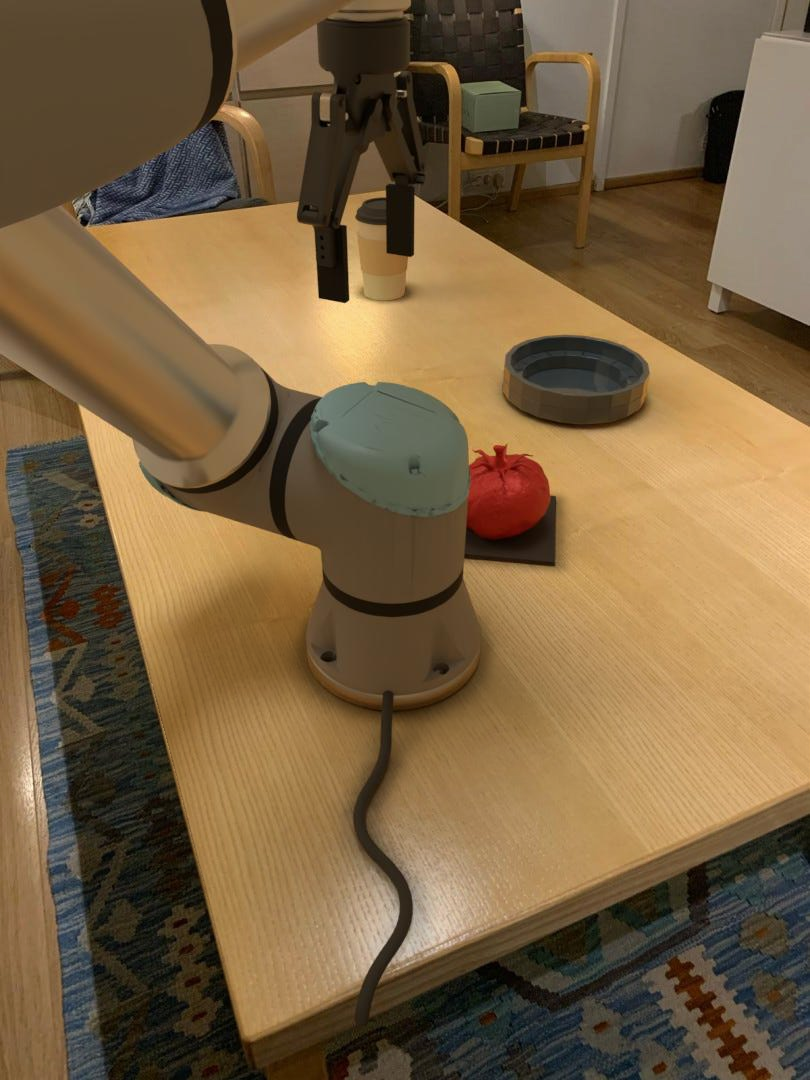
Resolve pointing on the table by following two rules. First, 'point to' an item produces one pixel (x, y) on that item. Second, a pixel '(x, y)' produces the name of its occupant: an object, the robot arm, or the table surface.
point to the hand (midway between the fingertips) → (369, 275)
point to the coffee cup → (378, 254)
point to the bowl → (575, 379)
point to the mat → (518, 543)
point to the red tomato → (505, 494)
